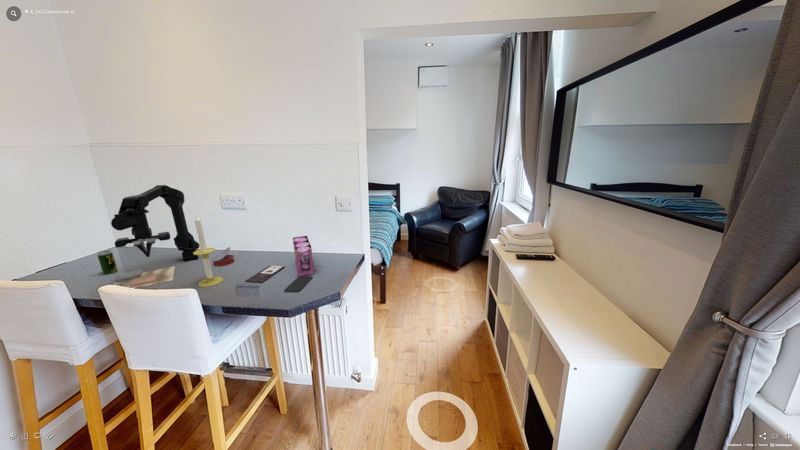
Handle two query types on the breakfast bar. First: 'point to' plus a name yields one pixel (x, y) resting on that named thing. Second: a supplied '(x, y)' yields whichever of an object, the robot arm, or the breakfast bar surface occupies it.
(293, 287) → the phone
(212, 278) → the candle
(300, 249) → the gum box
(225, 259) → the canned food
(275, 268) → the chocolate bar
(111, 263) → the guarana soda can
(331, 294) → the breakfast bar surface
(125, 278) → the slate tile
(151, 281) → the terracotta tile
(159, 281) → the oak board
